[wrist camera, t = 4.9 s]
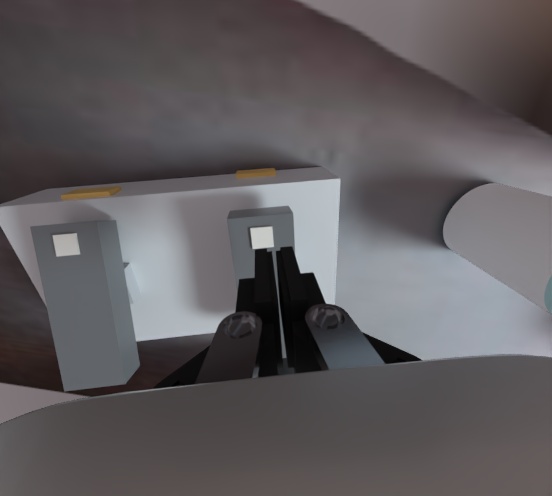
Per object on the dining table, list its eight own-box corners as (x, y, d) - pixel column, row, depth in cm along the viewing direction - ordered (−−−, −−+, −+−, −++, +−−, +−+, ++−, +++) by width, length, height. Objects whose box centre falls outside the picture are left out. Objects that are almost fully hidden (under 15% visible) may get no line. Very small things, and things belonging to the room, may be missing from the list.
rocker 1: (115, 220, 17) (94, 220, 14) (140, 365, 18) (123, 385, 16) (57, 225, 16) (27, 226, 14) (86, 371, 18) (62, 393, 16)
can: (468, 170, 23) (662, 214, 12) (526, 195, 24) (742, 254, 14) (424, 240, 26) (549, 326, 15) (478, 258, 27) (628, 348, 16)
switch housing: (321, 162, 21) (347, 177, 16) (320, 286, 27) (338, 330, 21) (45, 185, 20) (-34, 209, 15) (101, 309, 26) (60, 361, 20)
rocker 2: (288, 205, 16) (293, 213, 14) (295, 336, 20) (300, 357, 18) (229, 210, 16) (226, 219, 14) (247, 341, 19) (247, 364, 17)
